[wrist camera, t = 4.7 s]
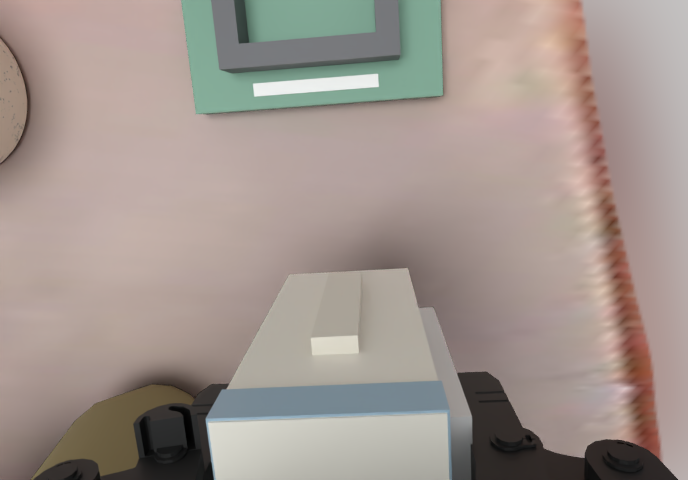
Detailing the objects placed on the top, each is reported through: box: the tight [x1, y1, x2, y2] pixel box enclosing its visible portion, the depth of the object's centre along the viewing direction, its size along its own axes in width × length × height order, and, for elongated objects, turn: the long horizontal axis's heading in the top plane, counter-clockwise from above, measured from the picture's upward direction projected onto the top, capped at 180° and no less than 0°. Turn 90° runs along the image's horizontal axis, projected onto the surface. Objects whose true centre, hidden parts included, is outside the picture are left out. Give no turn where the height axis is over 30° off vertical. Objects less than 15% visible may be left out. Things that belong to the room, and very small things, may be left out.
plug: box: [206, 268, 452, 480], centre depth 13 cm, size 6×4×9 cm
